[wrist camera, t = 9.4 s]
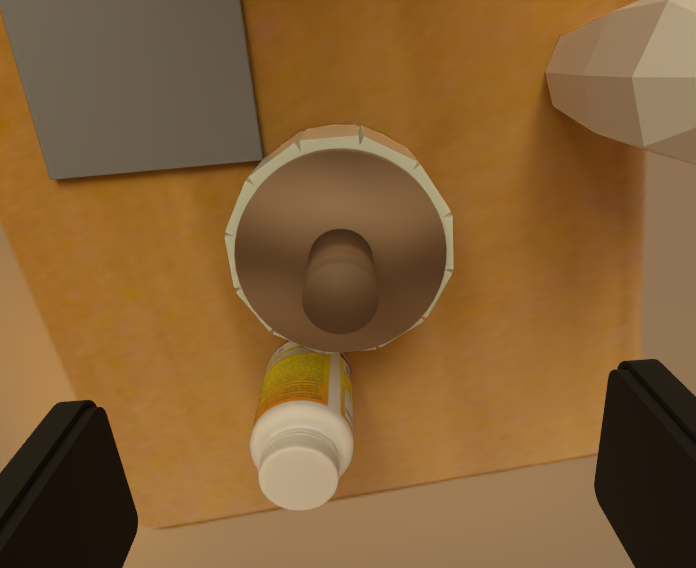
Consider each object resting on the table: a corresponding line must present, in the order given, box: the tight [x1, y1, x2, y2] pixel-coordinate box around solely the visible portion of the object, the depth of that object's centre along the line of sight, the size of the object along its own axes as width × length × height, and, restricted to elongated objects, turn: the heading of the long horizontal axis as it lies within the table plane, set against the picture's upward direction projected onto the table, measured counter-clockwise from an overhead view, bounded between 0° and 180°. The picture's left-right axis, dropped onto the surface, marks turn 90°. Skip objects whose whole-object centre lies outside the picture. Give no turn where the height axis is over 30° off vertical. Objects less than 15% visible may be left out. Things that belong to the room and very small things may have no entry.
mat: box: [0, 0, 264, 180], centre depth 29 cm, size 12×12×1 cm
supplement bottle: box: [250, 341, 354, 511], centre depth 31 cm, size 6×6×10 cm
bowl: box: [225, 124, 454, 354], centre depth 29 cm, size 11×11×6 cm
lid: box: [234, 148, 447, 353], centre depth 24 cm, size 10×10×6 cm
